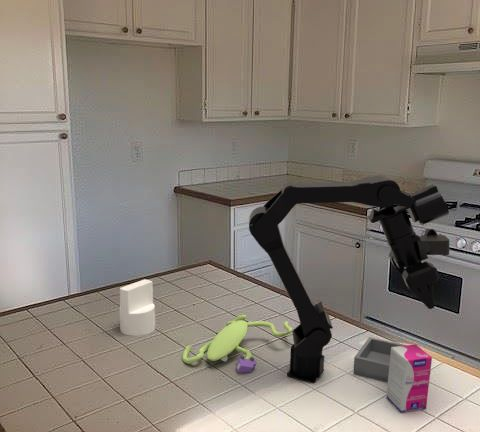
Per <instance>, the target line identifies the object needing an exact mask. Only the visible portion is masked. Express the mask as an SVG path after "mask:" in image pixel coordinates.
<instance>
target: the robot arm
mask: <svg viewBox="0 0 480 432" xmlns="http://www.w3.org/2000/svg"><path fill="white" fill-rule="evenodd" d="M324 203H325V204H326V203H327V204H329V203H330V204H331V203H338V204H339V203H354V204H355V203H356V204H362V205H366V206H370V207H373V208H371V211H370V214H369V215H368V217H367V220H368V221H369V222H370V223H372V224H375V223H377V222H379V224H380V226H381V228H382V232H383V233H384V236H385V238H386V240H385V241H386V243H387V245H388V247H389V249H390V251H389V253H388V258H389V260H390V262H391V263H392V265H393V267H394V269H395V270H396V272H397V273H398V274H400V276H401V277H402V279H403V281H404V283H405V285H406V286H407V289H409V290H410V291H411V292H412V294H413V295H415V296H416V298H417V299H419V300H420V302H421V303H422V304H423V305H424V306H425V307H426V308H427V309H428V310H432V309H434V308H435V302H434V301H435V300H434V291H433V289H434V288H433V287H434V285H435V283H436V282H437V281H438V280H439V279H440V274H439V271H438V269H437V268H436V267H435V265H434V264H433V263H431V262H429V261H426V260H427V259H429V257H428V256H437V255H439V256H440V255H441V256H449V255H450V239H449V238H448V237H447V236H446V235H444V234H441V233H439V234H438V233H437V230H435V229H434V228H426V230H425V231H424V234H421V235H420V236H419V235H417V233H416V232H415V230H414V226H413V225H412V222H413V223H417V222H418V224H420V225H421V226H423V225H426V224H429V223H431V222H433V221H436V220H438V219H440V218H443V217H446V216H448V215H449V213H450V211H449V206H448V203H447V201H446V200H444V198H443V195H442V194H441V192H440V191H439V189H438V187H437V186H436V185H434V184H430V185H428V186H426V187H425V188H422V189H420V190H418V191H416V192H413V193H411V194H410V193H408V192H406V191H405V190H401V188H400V186H399V184H398V183H397V182H396V181H395V180H393V179H392V178H390V177H389V176H386V175H383V174H378V175H374V176H373V175H372V176H368V177H364V178H359V179H358V180H353V181H345V182H344V181H341V182H339V181H337V182H336V181H335V182H311V183H310V182H305V183H303V182H302V183H300V182H299V183H297V182H287V183H285V184H284V185H283V186H282V188H281V189H280V190H279V191H277V193H276V194H274V196H272V197H271V198H270V199H269V200H268V201H266V203H264V205H263V206H258V207H256V208H255V209H253V210H251V213H250V214H249V217H248V218H249V220H248V230H249V232H250V235H251V236H252V237H253V239H254V240H255V241H256V243H257V244H258V245H259V247H261V249H262V250H264V252H265V253H267V255H268V257H269V259H270V260H271V263H272V264H273V266H274V268H275V270H276V272H277V275H278V276H279V278H280V280H281V282H282V284H283V286H284V287H285V291H286V292H287V294H288V295H289V297H290V300H291V302H292V304H293V305H294V307H295V310H296V312H297V316H298V319H299V323H300V324H298V325H297V326H296V327H295V328H294V329H292V332H291V334H292V338H293V339H292V340H293V344H292V345H291V346H290V355H289V356H290V358H289V370H288V371H287V373H286V376H287V377H289V378H294V379H297V380H301V381H305V382H308V383H312V384H314V383H316V381H318V380H319V378H321V376H322V375H323V374H324V372H325V355H324V354H323V349H324V347H325V346H327V345H328V344H329V343H330V342H331V339H332V336H333V335H332V334H333V333H332V331H331V330H332V329H333V328H334V327H333V324H332V321H331V318H330V315H329V313H327V312H326V311H325V308H324V305H323V302H322V301H319V302H317V303H316V302H315V301H314V300H313V299H312V298H311V296H310V294H309V292H308V289H307V288H306V286H305V283H304V282H303V279H302V278H301V276H300V274H299V272H298V270H297V268H296V266H295V263H294V262H293V260H292V258H291V256H290V254H289V252H288V250H287V248H286V246H285V243H284V240H283V237H282V233H281V230H280V226H279V224H280V223H281V222H283V221H284V219H286V217H287V215H288V214H289V213H290V212H291V211H292V210H293V208H294V207H295V206H296V205H297V204H324ZM393 206H394V207H393ZM374 207H377V208H380V209H376V208H374ZM408 214H409V215H408ZM409 216H410V217H409ZM410 218H411V219H410ZM411 220H412V222H411ZM424 260H425V261H424ZM422 261H423V262H422Z"/></svg>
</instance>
